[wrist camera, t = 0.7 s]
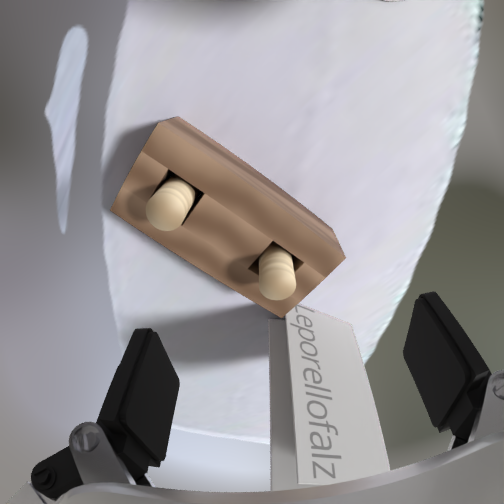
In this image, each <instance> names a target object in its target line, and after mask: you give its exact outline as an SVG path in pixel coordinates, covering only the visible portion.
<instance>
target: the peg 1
mask: <svg viewBox="0 0 504 504" xmlns="http://www.w3.org/2000/svg"><path fill="white" fill-rule="evenodd" d="M198 193H199V189H198V188H196V187H195V186H193V185H192V184H190V183H189V182H187V181H186V180H184V179H183V178H181V177H180V176H178V175H177V174H174V175H172V176H171V177H170V178H169V179H168V180H167V181H166V182H165V183H164V184H163V185H162V187H161V188H160V189H159V190H158V191H157V192H156V193H155V194H154V195H153V196H152V197H151V198H150V199H149V201H148V202H147V205H146V216H147V218H148V220H149V222H150V223H151V224H152V225H153V226H154V227H156V228H157V229H159V230H163V231H171V230H174V229H176V228H178V227H179V226H180V225H181V224H182V222H183V220H184V219H185V217H186V215H187V213H188V211H189V209H190V208H191V206H192V204H193V202H194V201H195V199H196V197H197V195H198Z"/></svg>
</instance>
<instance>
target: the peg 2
mask: <svg viewBox="0 0 504 504" xmlns="http://www.w3.org/2000/svg"><path fill="white" fill-rule="evenodd" d="M295 289H296V280H295V274H294V268H293V262H292V256H291V253H290V252H289V251H287V250H286V249H284V248H283V247H282V246H280V245H279V244H277V243H276V242H274V241H272V242H271V243H270V244H269V246H268V247H267V248H266V249H265V250H264V251H263V252H262V253H261V254H260V256H259V290H260V292H261V293H262V295H263V296H265V297H266V298H268V299H271V300H283V299H286V298H288V297H289V296H291V295H292V294H293V293H294V291H295Z"/></svg>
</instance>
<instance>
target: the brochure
mask: <svg viewBox="0 0 504 504" xmlns="http://www.w3.org/2000/svg"><path fill="white" fill-rule="evenodd" d="M268 332H269V379H270V446H271V447H270V450H271V451H270V454H271V491H281V490H292V489H301V488H309V487H317V486H323V485H329V484H335V483H341V482H346V481H351V480H355V479H360V478H364V477H369V476H373V475H377V474H380V473H384V472H388V471H390V466H389V462H388V457H387V452H386V448H385V443H384V439H383V435H382V431H381V427H380V422H379V419H378V414H377V411H376V407H375V403H374V399H373V395H372V392H371V388H370V385H369V381H368V377H367V374H366V370H365V367H364V363H363V360H362V357H361V353H360V350H359V347H358V343H357V340H356V337H355V334H354V331H353V327H352V324H350V323H348V322H345V321H343V320H340V319H337V318H335V317H332V316H330V315H327V314H325V313H322V312H319V311H317V310H314V309H312V308H309V307H307V306H304V305H302V304H299V303H298V304H297V305H296V306H295V307H294V308H293V309H292V310H290V311H289V312H288V313H287V314H286V315H285V320H279V319H268Z"/></svg>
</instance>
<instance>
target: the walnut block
mask: <svg viewBox="0 0 504 504" xmlns="http://www.w3.org/2000/svg"><path fill="white" fill-rule="evenodd" d="M173 172H174V173H175V174H177V175H178V176H180V177H181V178H183V179H184V180H186V181H187V182H189V183H190V184H192V185H193V186H195V187H196V188H198V189H199V190H200V191H202V193H201V194H200V196H199V197H198V199H197V200H196V201H194V202H193V204H192V206H191V208H190V209H189V211H188V213H187V215H186V217H185V219H184V220H183V222H182V224H181V225H180V226H179V227H178V228H176V229H174V230H171V231H163V230H159V229H157V228H156V227H154V226H153V225H152V224H151V223H150V222H149V220H148V218H147V216H146V205H147V202H148V201H149V199H150V198H151V197H152V196H153V195H154V194H155V193H156V192H157V191H158V190H159V189H160V188H161V187H162V185H163V184H164V183H165V182H166V181H167V180H168V179H169V178H170V176H171V175H172V173H173ZM110 211H112V212H113V213H115V214H116V215H118V216H119V217H120V218H122V219H123V220H125V221H126V222H128V223H129V224H131V225H132V226H134V227H135V228H137V229H138V230H140V231H141V232H143V233H145V234H146V235H148V236H149V237H151V238H152V239H154V240H155V241H157V242H158V243H160V244H161V245H163V246H164V247H166V248H168V249H169V250H171V251H172V252H174V253H175V254H177V255H178V256H180V257H182V258H183V259H185V260H186V261H188V262H190V263H191V264H193V265H194V266H196V267H197V268H199V269H201V270H202V271H204V272H205V273H207V274H209V275H210V276H212V277H214V278H215V279H217V280H218V281H220V282H222V283H223V284H225V285H227V286H228V287H230V288H232V289H233V290H235V291H236V292H238V293H240V294H241V295H243V296H245V297H246V298H248V299H250V300H251V301H253V302H255V303H257V304H258V305H260V306H262V307H263V308H265V309H267V310H268V311H270V312H272V313H273V314H275V315H277V316H279V317H280V318H283V317H284V316H285V315H286V314H287V313H288V312H289V311H290V310H292V309H293V308H294V307H295V306H296V305H297V304H298V303H299V302H300V301H301V300H302V299H304V298H305V297H306V296H307V295H308V294H309V293H310V292H311V291H312V290H313V289H314V288H315V287H316V286H317V285H319V284H320V283H321V282H322V281H323V280H324V279H325V278H326V277H327V276H328V275H329V274H330V273H331V272H332V271H333V270H334V269H335V268H336V267H337V266H338V265H339V264H340V263H341V262H342V261H343V260H344V259H345V258H346V257H345V255H344V252H343V250H342V248H341V246H340V244H339V242H338V240H337V238H336V235H335V233H334V231H333V229H332V228H331V227H329V226H328V225H327V224H326V223H325V222H323V221H322V220H321V219H320V218H318V217H317V216H316V215H315V214H313V213H312V212H311V211H309V210H308V209H307V208H306V207H304V206H303V205H302V204H301V203H299V202H298V201H297V200H295V199H294V198H293V197H291V196H290V195H289V194H288V193H286V192H285V191H284V190H282V189H281V188H280V187H278V186H277V185H276V184H274V183H273V182H272V181H270V180H269V179H268V178H266V177H265V176H264V175H262V174H261V173H259V172H258V171H257V170H255V169H254V168H253V167H251V166H250V165H248V164H247V163H246V162H244V161H243V160H242V159H240V158H239V157H237V156H236V155H234V154H233V153H232V152H230V151H229V150H227V149H226V148H224V147H223V146H222V145H220V144H219V143H217V142H216V141H214V140H213V139H211V138H210V137H208V136H207V135H206V134H204V133H203V132H201V131H200V130H198V129H197V128H195V127H194V126H192V125H191V124H189V123H188V122H186V121H184V120H183V119H181V118H180V117H175V118H172V119H168V120H165V121H162V122H159V123H158V124H157V126H156V127H155V129H154V131H153V132H152V134H151V136H150V137H149V139H148V140H147V142H146V144H145V146H144V147H143V149H142V151H141V152H140V154H139V156H138V158H137V159H136V161H135V163H134V165H133V167H132V168H131V170H130V172H129V174H128V176H127V178H126V180H125V181H124V183H123V185H122V187H121V189H120V191H119V193H118V195H117V197H116V199H115V201H114V203H113V205H112V207H111V209H110ZM272 241H274V242H276V243H277V244H279V245H280V246H282V247H283V248H284V249H286V250H287V251H289V252H290V253H291V256H292V262H293V268H294V274H295V280H296V289H295V291H294V293H293V294H292V295H291V296H289V297H288V298H286V299H283V300H271V299H268V298H266V297H265V296H263V295H262V293H261V292H260V290H259V256H260V254H261V253H262V252H263V251H264V250H265V249H266V248H267V247H268V246H269V244H270V243H271V242H272Z"/></svg>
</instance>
